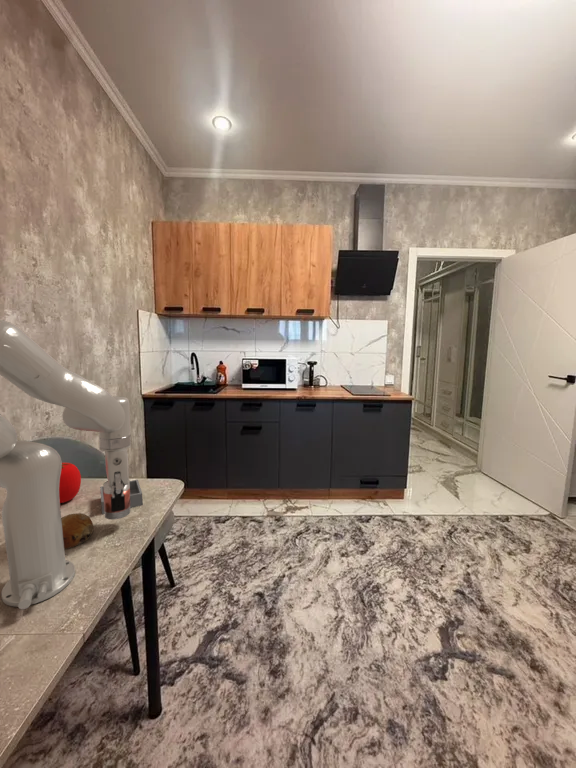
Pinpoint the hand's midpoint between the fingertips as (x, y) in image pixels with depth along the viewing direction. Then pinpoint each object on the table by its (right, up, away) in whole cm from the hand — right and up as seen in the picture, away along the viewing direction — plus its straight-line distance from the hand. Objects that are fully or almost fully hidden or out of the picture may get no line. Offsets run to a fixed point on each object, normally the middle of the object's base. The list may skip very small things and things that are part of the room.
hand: (117, 504), depth 91 cm
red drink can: (0, -3, 0) cm, 3 cm away
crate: (-6, -4, +14) cm, 16 cm away
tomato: (-26, -4, +15) cm, 30 cm away
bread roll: (-10, -8, -4) cm, 13 cm away
